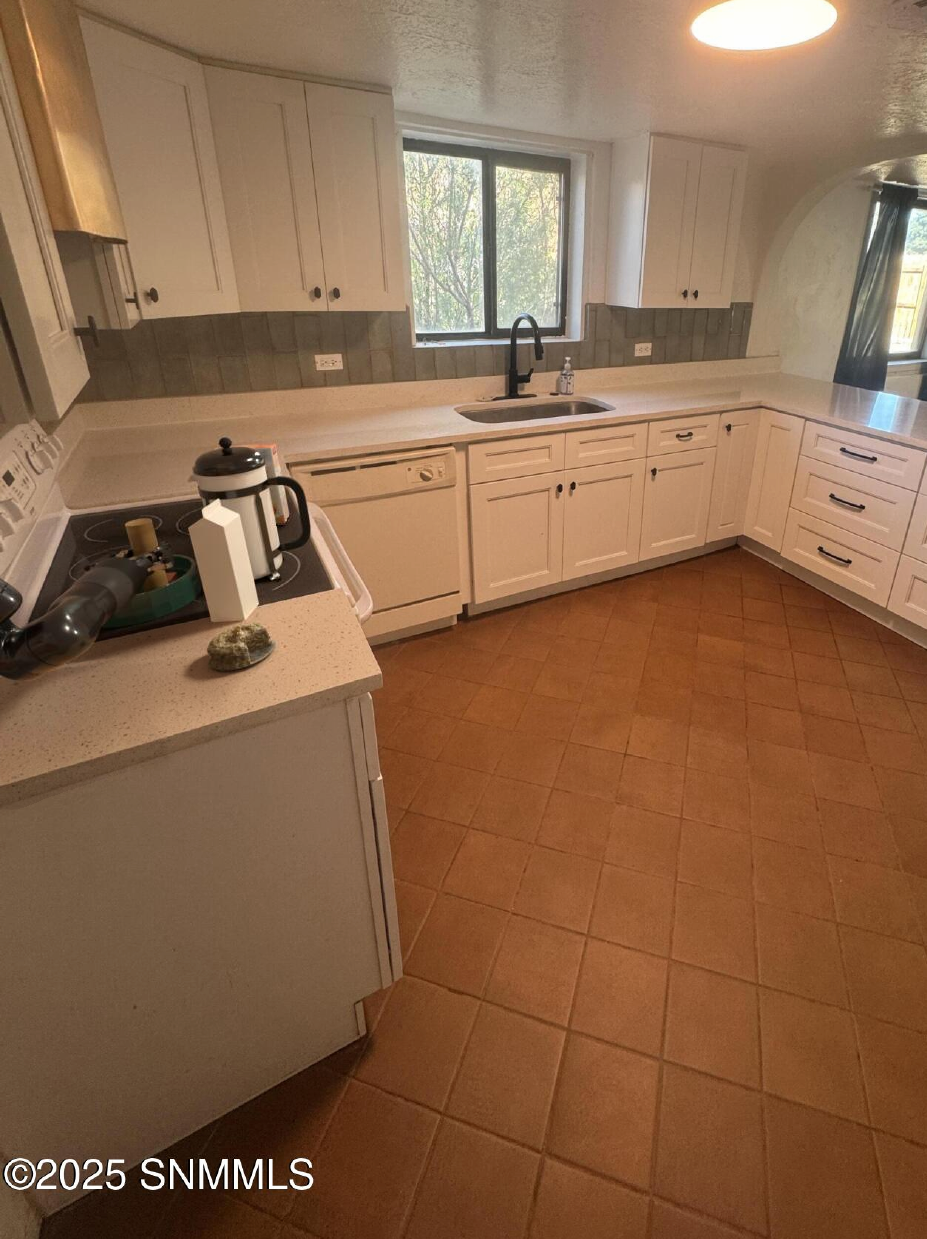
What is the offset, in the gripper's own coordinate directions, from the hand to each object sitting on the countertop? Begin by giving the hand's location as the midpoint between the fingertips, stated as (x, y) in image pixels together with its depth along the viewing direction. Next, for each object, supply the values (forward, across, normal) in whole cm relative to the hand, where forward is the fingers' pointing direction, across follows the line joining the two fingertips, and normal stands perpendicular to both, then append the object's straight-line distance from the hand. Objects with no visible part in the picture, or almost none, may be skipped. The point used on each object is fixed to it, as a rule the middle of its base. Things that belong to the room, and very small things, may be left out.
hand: (153, 546), depth 109 cm
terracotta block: (+1, +1, +11) cm, 11 cm away
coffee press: (+8, -15, +12) cm, 21 cm away
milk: (-9, -15, +12) cm, 21 cm away
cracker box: (+39, -7, +12) cm, 41 cm away
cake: (-23, -20, +12) cm, 33 cm away
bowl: (0, +4, +12) cm, 12 cm away
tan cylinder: (-3, 0, +10) cm, 10 cm away
